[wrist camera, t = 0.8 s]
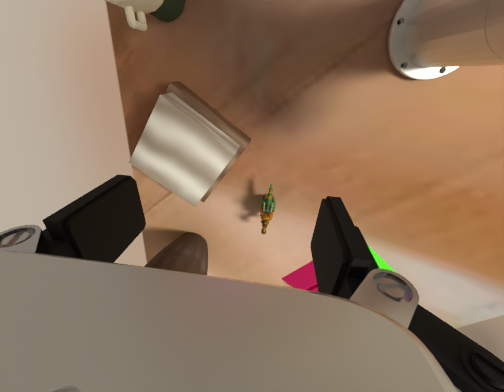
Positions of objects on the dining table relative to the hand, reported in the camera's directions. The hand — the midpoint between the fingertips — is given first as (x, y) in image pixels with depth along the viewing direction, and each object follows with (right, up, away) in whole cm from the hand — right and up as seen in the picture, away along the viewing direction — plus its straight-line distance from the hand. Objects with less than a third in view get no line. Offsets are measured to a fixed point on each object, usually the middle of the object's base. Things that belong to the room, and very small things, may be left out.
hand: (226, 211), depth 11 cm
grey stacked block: (-10, +11, +32) cm, 36 cm away
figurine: (+5, 0, +37) cm, 37 cm away
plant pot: (-14, -12, +47) cm, 50 cm away
